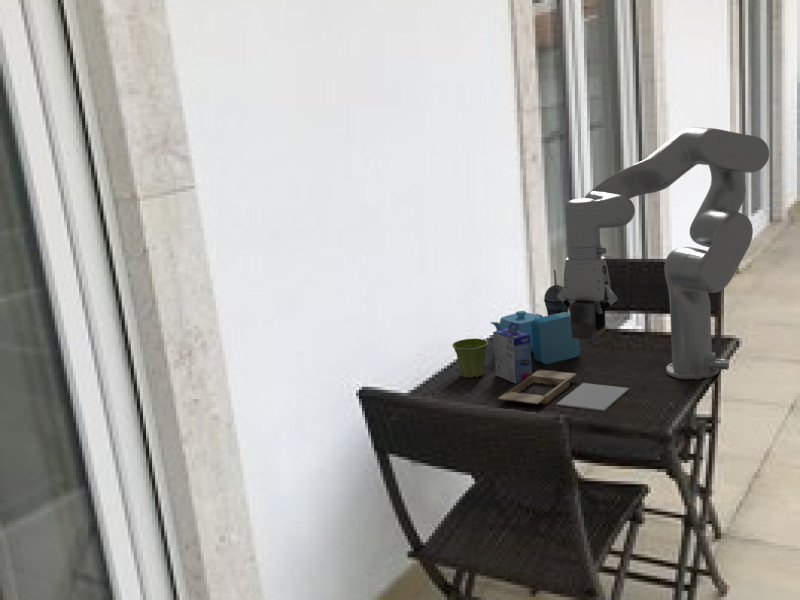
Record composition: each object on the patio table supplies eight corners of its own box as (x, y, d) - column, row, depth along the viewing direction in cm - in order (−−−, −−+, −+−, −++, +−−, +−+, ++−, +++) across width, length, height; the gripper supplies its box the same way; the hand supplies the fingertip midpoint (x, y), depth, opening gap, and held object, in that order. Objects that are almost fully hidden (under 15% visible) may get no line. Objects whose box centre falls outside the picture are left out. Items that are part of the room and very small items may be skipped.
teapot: (481, 354, 273) (477, 315, 271) (532, 340, 282) (529, 302, 279) (506, 364, 263) (503, 323, 260) (559, 348, 271) (556, 309, 268)
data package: (571, 352, 267) (569, 310, 264) (580, 356, 262) (578, 314, 260) (533, 361, 262) (530, 319, 260) (542, 365, 258) (539, 322, 255)
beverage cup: (546, 341, 278) (541, 274, 273) (546, 334, 285) (542, 268, 280) (572, 340, 277) (567, 272, 272) (571, 333, 284) (567, 266, 279)
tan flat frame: (577, 380, 244) (576, 373, 244) (538, 410, 227) (537, 403, 227) (539, 376, 250) (538, 369, 250) (498, 404, 233) (498, 397, 233)
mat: (629, 389, 234) (628, 388, 234) (604, 411, 222) (604, 409, 222) (583, 384, 241) (583, 382, 241) (556, 405, 229) (556, 403, 229)
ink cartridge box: (534, 379, 248) (530, 325, 245) (516, 384, 246) (512, 330, 242) (512, 370, 257) (508, 318, 253) (495, 375, 255) (490, 323, 251)
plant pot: (467, 367, 264) (464, 336, 262) (497, 370, 258) (494, 339, 256) (448, 378, 257) (445, 347, 255) (479, 382, 251) (476, 350, 249)
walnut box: (605, 329, 229) (604, 296, 227) (592, 339, 223) (590, 305, 221) (586, 328, 232) (584, 295, 230) (571, 337, 226) (569, 304, 224)
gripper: (625, 249, 221) (629, 326, 225) (557, 248, 231) (562, 321, 235) (612, 257, 215) (616, 335, 220) (543, 255, 225) (548, 329, 229)
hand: (588, 327), depth 227 cm, fingers closed on walnut box, 5 cm apart
